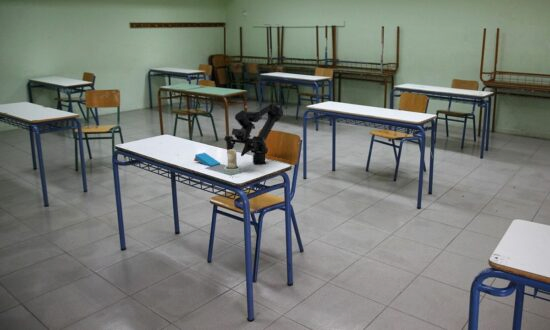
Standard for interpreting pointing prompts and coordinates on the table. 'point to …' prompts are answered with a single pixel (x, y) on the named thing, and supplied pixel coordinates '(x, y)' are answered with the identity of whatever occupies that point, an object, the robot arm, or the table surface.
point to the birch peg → (232, 159)
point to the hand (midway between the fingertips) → (234, 154)
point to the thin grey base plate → (226, 169)
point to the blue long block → (206, 159)
